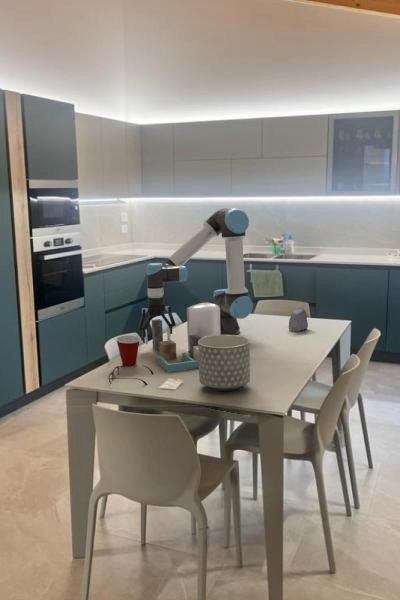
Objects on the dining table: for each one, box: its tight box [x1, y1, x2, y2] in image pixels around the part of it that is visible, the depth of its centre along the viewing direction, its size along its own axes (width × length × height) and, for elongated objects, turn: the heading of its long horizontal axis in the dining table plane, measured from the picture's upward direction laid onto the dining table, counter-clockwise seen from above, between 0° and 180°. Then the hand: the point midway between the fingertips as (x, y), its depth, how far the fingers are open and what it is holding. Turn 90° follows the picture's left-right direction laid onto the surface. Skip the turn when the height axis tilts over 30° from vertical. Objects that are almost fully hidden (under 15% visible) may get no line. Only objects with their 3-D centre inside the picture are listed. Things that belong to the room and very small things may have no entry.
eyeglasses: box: [107, 365, 155, 386], centre depth 227 cm, size 16×16×4 cm
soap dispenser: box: [186, 302, 221, 351], centre depth 267 cm, size 15×14×22 cm
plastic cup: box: [115, 335, 142, 367], centre depth 246 cm, size 11×11×12 cm
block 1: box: [151, 318, 177, 361], centre depth 262 cm, size 6×22×14 cm, turn 20°
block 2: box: [189, 334, 201, 360], centre depth 250 cm, size 6×14×10 cm, turn 20°
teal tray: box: [157, 352, 199, 373], centre depth 246 cm, size 24×15×3 cm, turn 110°
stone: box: [288, 308, 309, 332], centre depth 301 cm, size 12×10×10 cm
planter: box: [198, 334, 251, 392], centre depth 213 cm, size 19×19×18 cm
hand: (157, 342), depth 271 cm, fingers open, 10 cm apart
